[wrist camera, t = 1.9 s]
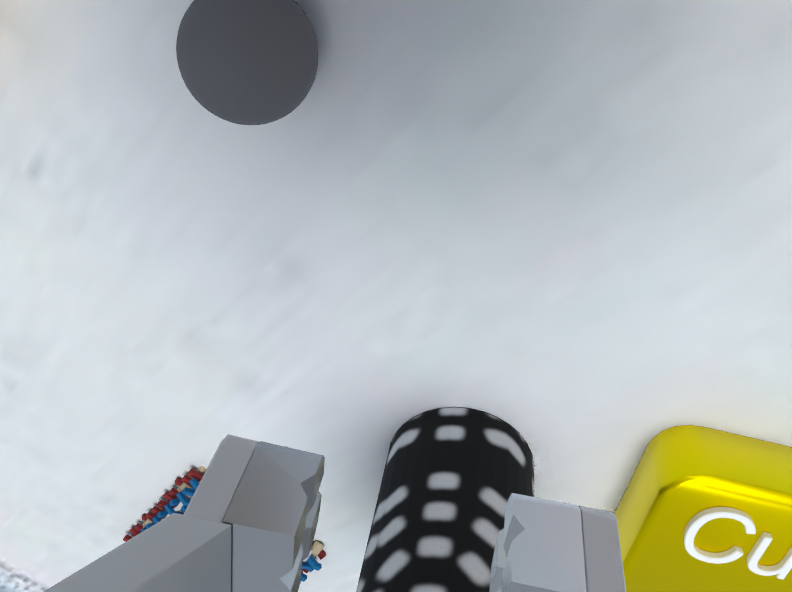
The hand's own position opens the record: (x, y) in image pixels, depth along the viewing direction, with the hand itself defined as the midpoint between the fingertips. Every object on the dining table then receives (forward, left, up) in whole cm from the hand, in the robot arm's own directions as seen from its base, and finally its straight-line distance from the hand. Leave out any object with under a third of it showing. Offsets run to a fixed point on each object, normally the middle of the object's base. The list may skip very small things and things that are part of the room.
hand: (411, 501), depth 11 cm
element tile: (+24, +19, -25) cm, 39 cm away
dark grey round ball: (0, -10, -21) cm, 23 cm away
